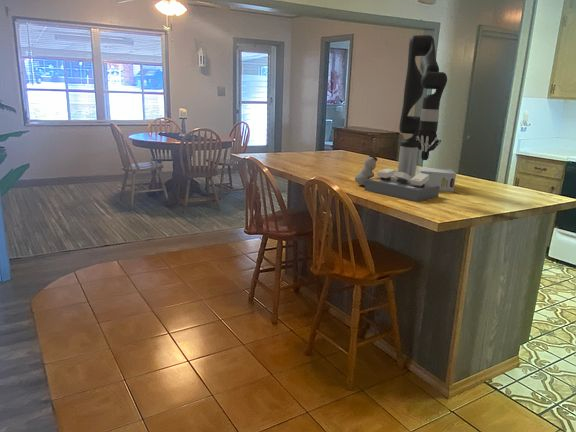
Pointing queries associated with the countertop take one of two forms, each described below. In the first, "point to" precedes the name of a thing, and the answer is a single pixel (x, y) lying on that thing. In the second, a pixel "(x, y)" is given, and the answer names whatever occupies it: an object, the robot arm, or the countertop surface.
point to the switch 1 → (385, 173)
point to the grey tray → (401, 188)
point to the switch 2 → (402, 175)
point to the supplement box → (439, 177)
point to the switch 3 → (419, 179)
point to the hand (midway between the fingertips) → (424, 159)
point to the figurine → (366, 170)
